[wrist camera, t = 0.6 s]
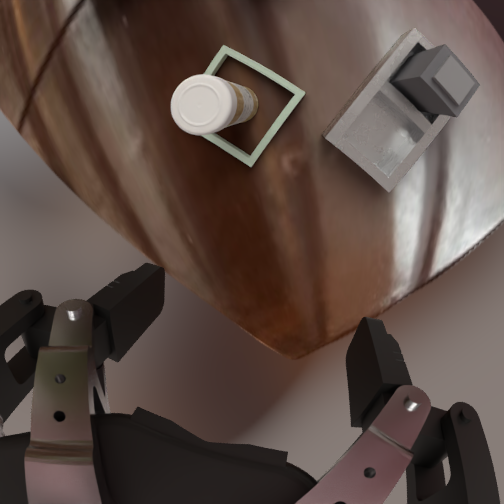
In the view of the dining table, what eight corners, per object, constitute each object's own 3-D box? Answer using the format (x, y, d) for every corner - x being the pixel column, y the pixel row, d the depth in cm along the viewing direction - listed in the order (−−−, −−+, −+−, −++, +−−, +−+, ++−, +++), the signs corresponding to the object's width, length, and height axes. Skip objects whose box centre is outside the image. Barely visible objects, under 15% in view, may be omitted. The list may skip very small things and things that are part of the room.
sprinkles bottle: (213, 97, 28) (158, 95, 16) (248, 79, 26) (212, 61, 15) (231, 129, 29) (187, 147, 18) (266, 112, 28) (243, 117, 16)
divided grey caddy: (321, 134, 28) (324, 138, 25) (401, 35, 19) (414, 27, 16) (379, 182, 29) (389, 192, 26) (454, 87, 21) (471, 88, 17)
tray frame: (180, 119, 29) (176, 120, 28) (226, 46, 24) (223, 44, 23) (252, 165, 31) (251, 167, 30) (305, 93, 26) (305, 92, 25)
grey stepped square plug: (388, 82, 23) (423, 76, 15) (409, 56, 20) (448, 43, 12) (418, 111, 24) (460, 117, 15) (438, 85, 21) (483, 84, 13)
